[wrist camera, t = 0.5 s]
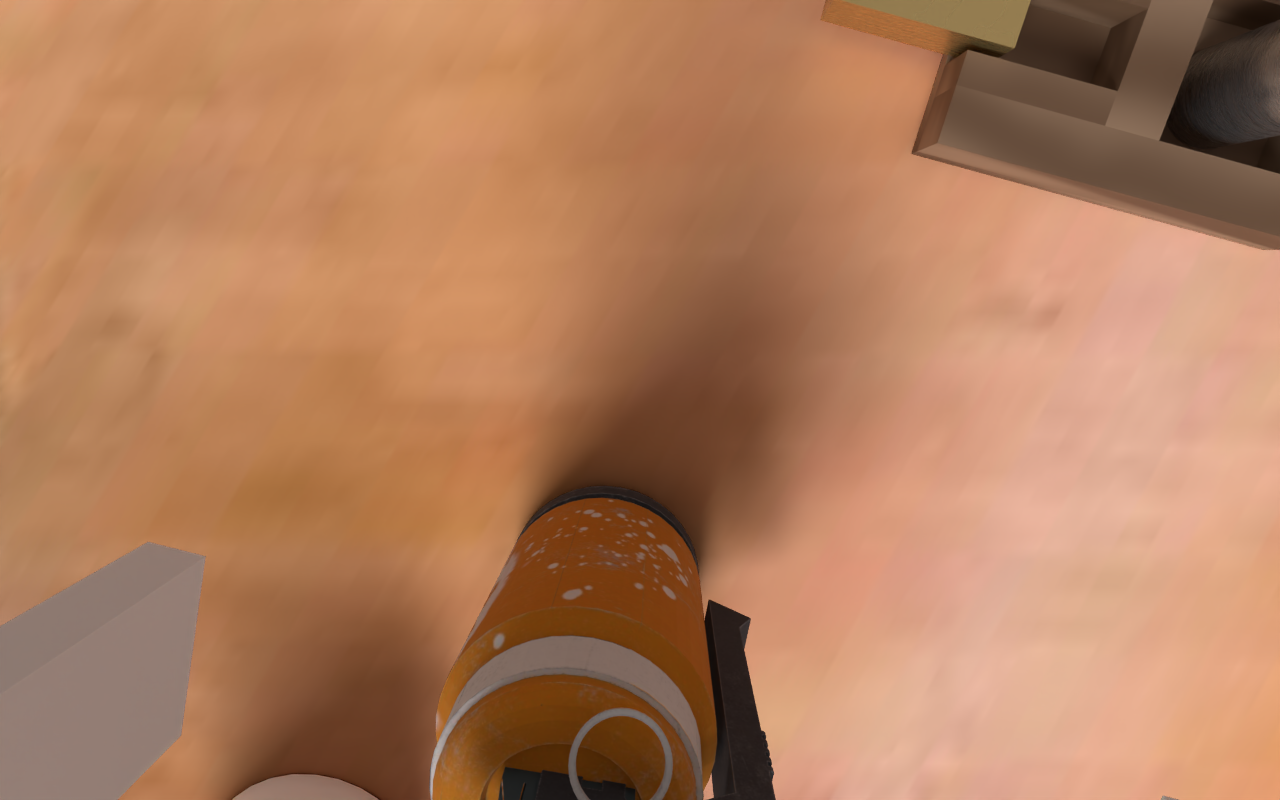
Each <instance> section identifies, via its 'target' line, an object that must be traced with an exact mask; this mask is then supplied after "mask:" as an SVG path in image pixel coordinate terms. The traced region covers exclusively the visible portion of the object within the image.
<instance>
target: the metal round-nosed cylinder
mask: <svg viewBox="0 0 1280 800" xmlns="http://www.w3.org/2000/svg"><path fill="white" fill-rule="evenodd" d="M1166 123H1167V126H1168V128H1169V129H1170V131H1171V132H1172V134H1173V135H1174V136H1175V137H1176V138H1177V139H1178V140H1179V141H1181V142H1182V143H1184V144H1186V145H1188V146H1191V147H1193V148H1198V149H1213V148H1218V147H1223V146H1228V145H1233V144H1238V143H1243V142H1248V141H1253V140H1258V139H1263V138H1268V137H1273V136H1279V135H1280V20H1278V21H1275V22H1272V23H1270V24H1267V25H1265V26H1262V27H1259V28H1257V29H1254V30H1252V31H1249V32H1247V33H1244V34H1241V35H1239V36H1236V37H1234V38H1231V39H1228V40H1226V41H1223V42H1221V43H1218V44H1215V45H1213V46H1210V47H1208V48H1205V49H1203V50H1200V51H1198V52H1196V53H1194V54H1193V55H1192V57H1191V60H1190V62H1189V65H1188V67H1187V70H1186V73H1185V75H1184V78H1183V80H1182V83H1181V86H1180V88H1179V91H1178V93H1177V96H1176V99H1175V101H1174V104H1173V106H1172V109H1171V111H1170V114H1169V117H1168V119H1167V122H1166Z"/></svg>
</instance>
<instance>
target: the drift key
mask: <svg viewBox="0 0 1280 800" xmlns="http://www.w3.org/2000/svg"><path fill="white" fill-rule="evenodd" d="M1030 1H1031V0H826V2H825V6H824V9H823V13H822V16H821V20H822V21H825V22H829V23H833V24H836V25H840V26H844V27H847V28H851V29H854V30H858V31H862V32H865V33H869V34H873V35H876V36H880V37H883V38H887V39H891V40H894V41H898V42H902V43H905V44H909V45H912V46H916V47H920V48H923V49H927V50H931V51H934V52H938V53H941V54H945V55H949V56H952V57H956V58H957V57H958V56H960V55H961V54H962V53H964V52H965V51H967V50H971V51H974V52H978V53H981V54H985V55H989V56H992V57H996V58H999V57H1001V56H1002V55H1004V54H1006V53H1008V52H1009V51H1011V50H1013V49H1014V48H1015V46H1016V43H1017V40H1018V37H1019V34H1020V31H1021V28H1022V25H1023V22H1024V19H1025V16H1026V13H1027V10H1028V7H1029V4H1030Z"/></svg>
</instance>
